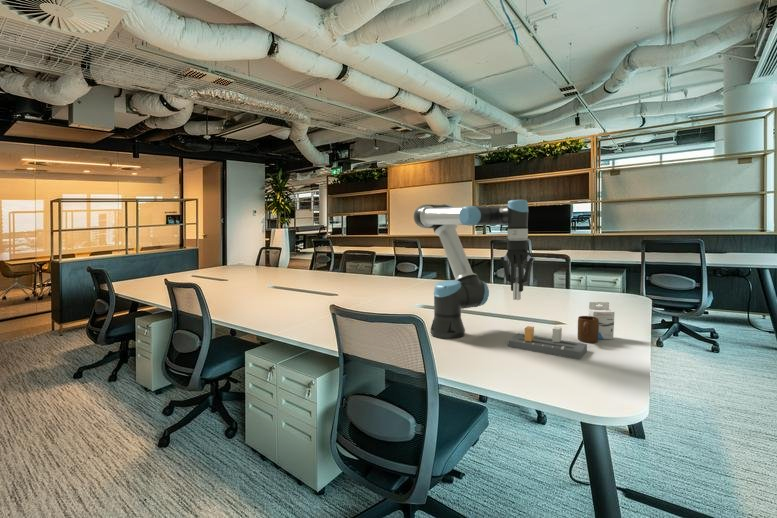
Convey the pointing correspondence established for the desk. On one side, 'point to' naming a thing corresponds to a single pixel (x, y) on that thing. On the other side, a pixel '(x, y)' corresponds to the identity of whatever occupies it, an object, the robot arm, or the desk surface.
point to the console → (549, 346)
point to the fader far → (557, 334)
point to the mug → (588, 329)
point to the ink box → (603, 319)
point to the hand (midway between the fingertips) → (516, 299)
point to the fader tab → (529, 333)
